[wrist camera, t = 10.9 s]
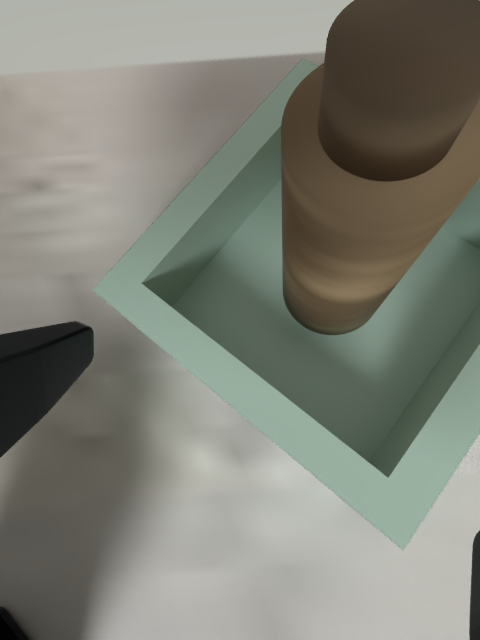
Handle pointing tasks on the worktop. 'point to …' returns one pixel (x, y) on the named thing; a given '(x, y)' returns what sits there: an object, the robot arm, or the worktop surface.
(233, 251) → the bin
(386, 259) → the pepper grinder
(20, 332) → the robot arm
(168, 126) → the worktop surface
